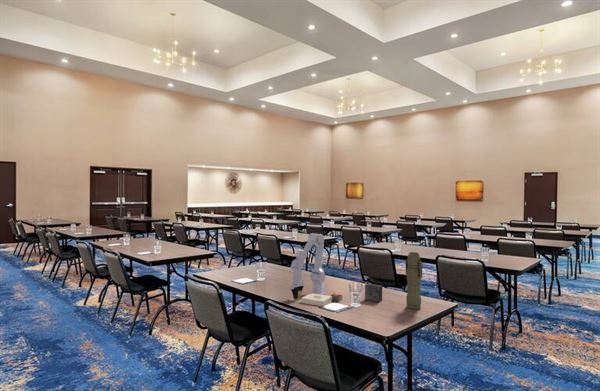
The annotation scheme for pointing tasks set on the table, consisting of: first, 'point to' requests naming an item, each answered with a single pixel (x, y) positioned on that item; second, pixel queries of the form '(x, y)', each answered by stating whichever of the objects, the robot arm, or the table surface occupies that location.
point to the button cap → (336, 294)
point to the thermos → (413, 280)
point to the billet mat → (295, 300)
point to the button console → (336, 298)
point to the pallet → (317, 299)
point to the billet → (298, 296)
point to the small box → (373, 292)
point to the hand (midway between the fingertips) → (297, 297)
